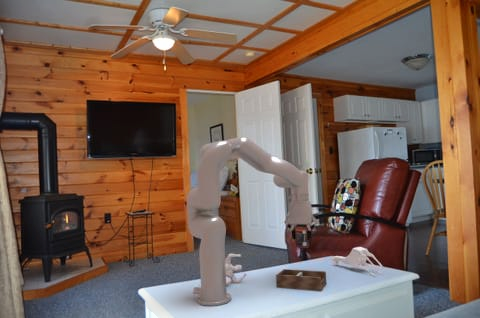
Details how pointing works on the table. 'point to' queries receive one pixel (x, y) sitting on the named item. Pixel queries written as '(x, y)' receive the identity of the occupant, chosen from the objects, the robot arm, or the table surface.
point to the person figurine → (232, 268)
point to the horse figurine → (357, 259)
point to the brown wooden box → (301, 280)
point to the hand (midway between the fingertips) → (301, 239)
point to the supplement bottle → (301, 236)
